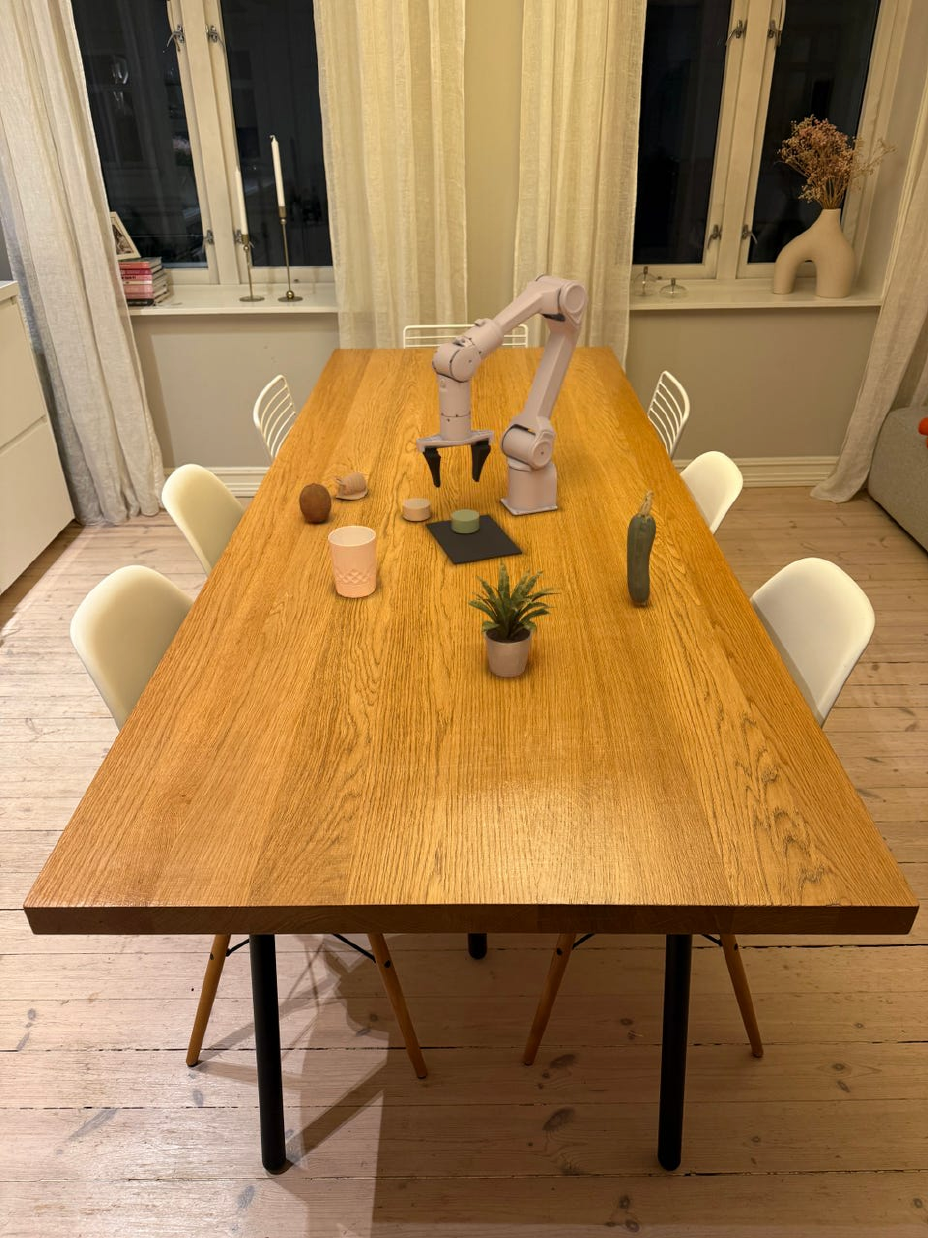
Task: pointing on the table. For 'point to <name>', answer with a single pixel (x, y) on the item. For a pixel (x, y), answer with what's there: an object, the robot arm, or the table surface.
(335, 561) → the pink cup
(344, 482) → the decorative ornament
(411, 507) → the cream cylinder
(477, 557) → the mat
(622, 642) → the table surface
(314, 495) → the fruit
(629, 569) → the vegetable
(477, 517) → the sage green puck
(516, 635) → the house plant
